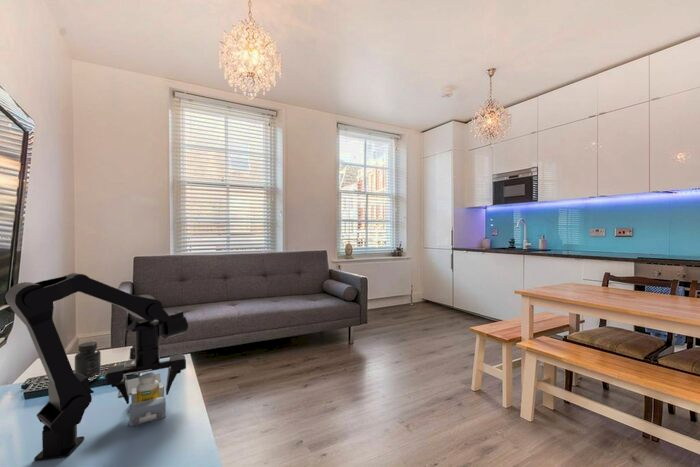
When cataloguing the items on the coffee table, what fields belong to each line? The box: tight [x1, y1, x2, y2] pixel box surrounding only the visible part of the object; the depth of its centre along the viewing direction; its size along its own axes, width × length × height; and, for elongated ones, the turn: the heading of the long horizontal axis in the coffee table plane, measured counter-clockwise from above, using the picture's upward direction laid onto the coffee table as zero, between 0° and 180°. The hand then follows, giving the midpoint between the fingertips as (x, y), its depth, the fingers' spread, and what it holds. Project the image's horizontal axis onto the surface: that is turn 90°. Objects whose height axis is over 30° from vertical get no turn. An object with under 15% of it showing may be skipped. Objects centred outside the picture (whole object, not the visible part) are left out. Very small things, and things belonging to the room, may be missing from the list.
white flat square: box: [118, 373, 162, 398], centre depth 104 cm, size 11×11×1 cm
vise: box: [129, 381, 167, 427], centre depth 89 cm, size 16×8×4 cm, turn 32°
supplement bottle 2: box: [136, 372, 159, 403], centre depth 90 cm, size 5×5×10 cm
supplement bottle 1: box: [74, 341, 102, 378], centre depth 108 cm, size 7×7×12 cm
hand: (148, 398), depth 90 cm, fingers open, 9 cm apart
